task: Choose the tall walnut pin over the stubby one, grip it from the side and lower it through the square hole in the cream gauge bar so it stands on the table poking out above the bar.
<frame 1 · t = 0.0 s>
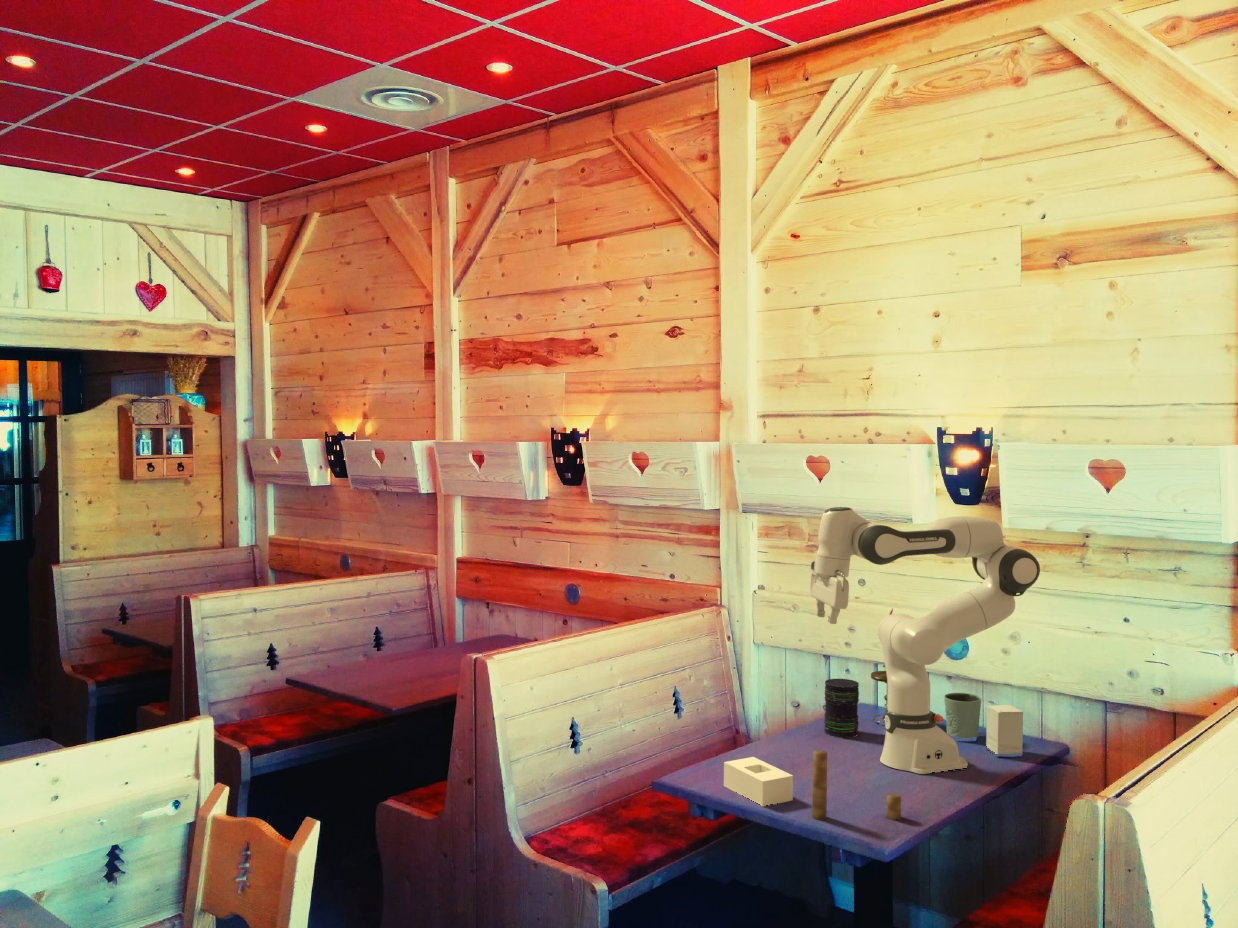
hand: (826, 620, 273), 39 cm above the table, tool pointing down, fingers open, 8 cm apart
gauge bar: (757, 792, 254), on the table
supplement box: (1004, 754, 286), on the table
long walnut pin: (819, 817, 238), on the table
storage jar: (841, 733, 304), on the table
short walnut pin: (893, 817, 238), on the table
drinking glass: (962, 738, 300), on the table
candlestick: (888, 722, 316), on the table
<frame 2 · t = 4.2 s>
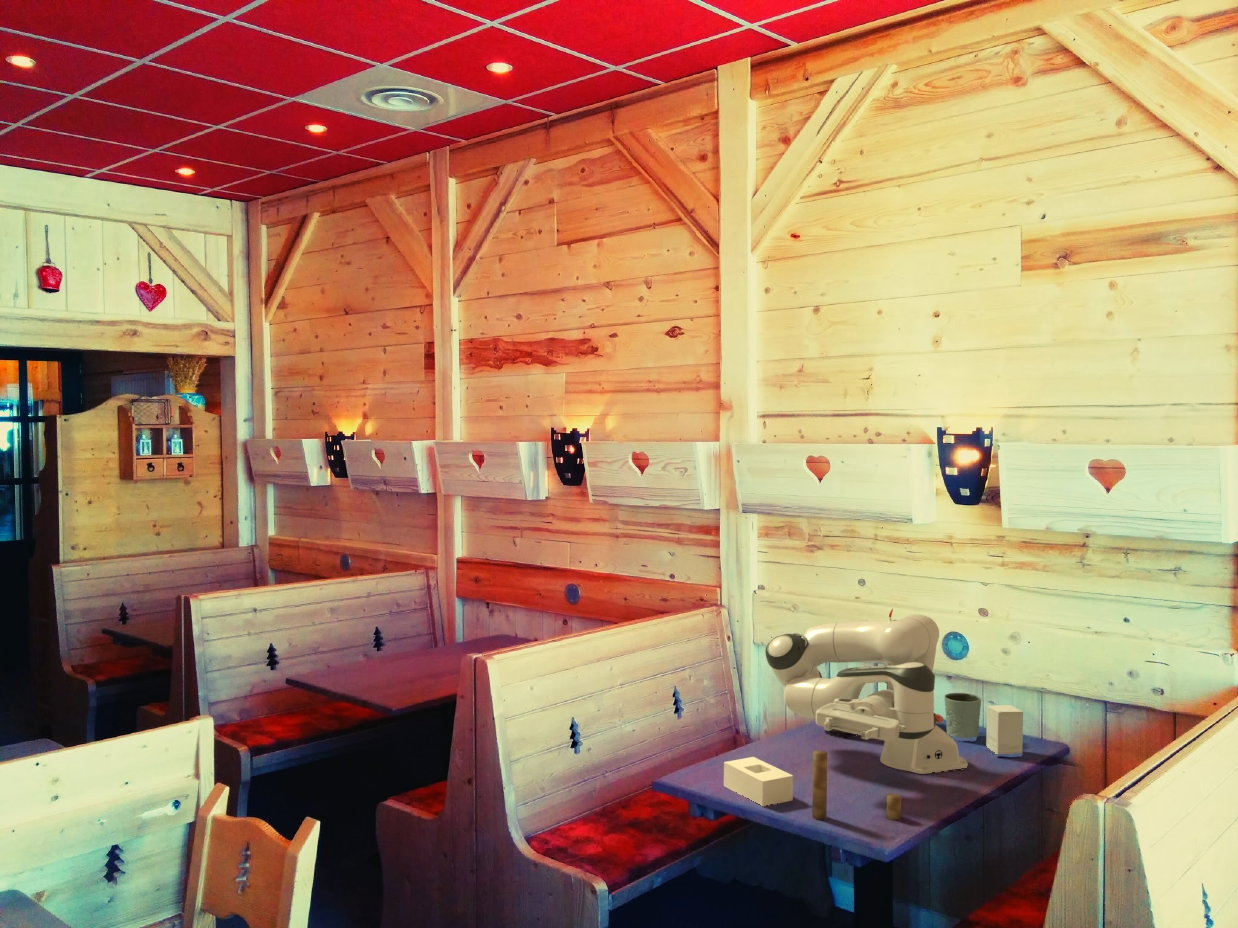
hand: (844, 731, 245), 18 cm above the table, tool horizontal, fingers open, 8 cm apart
nothing on the table moved.
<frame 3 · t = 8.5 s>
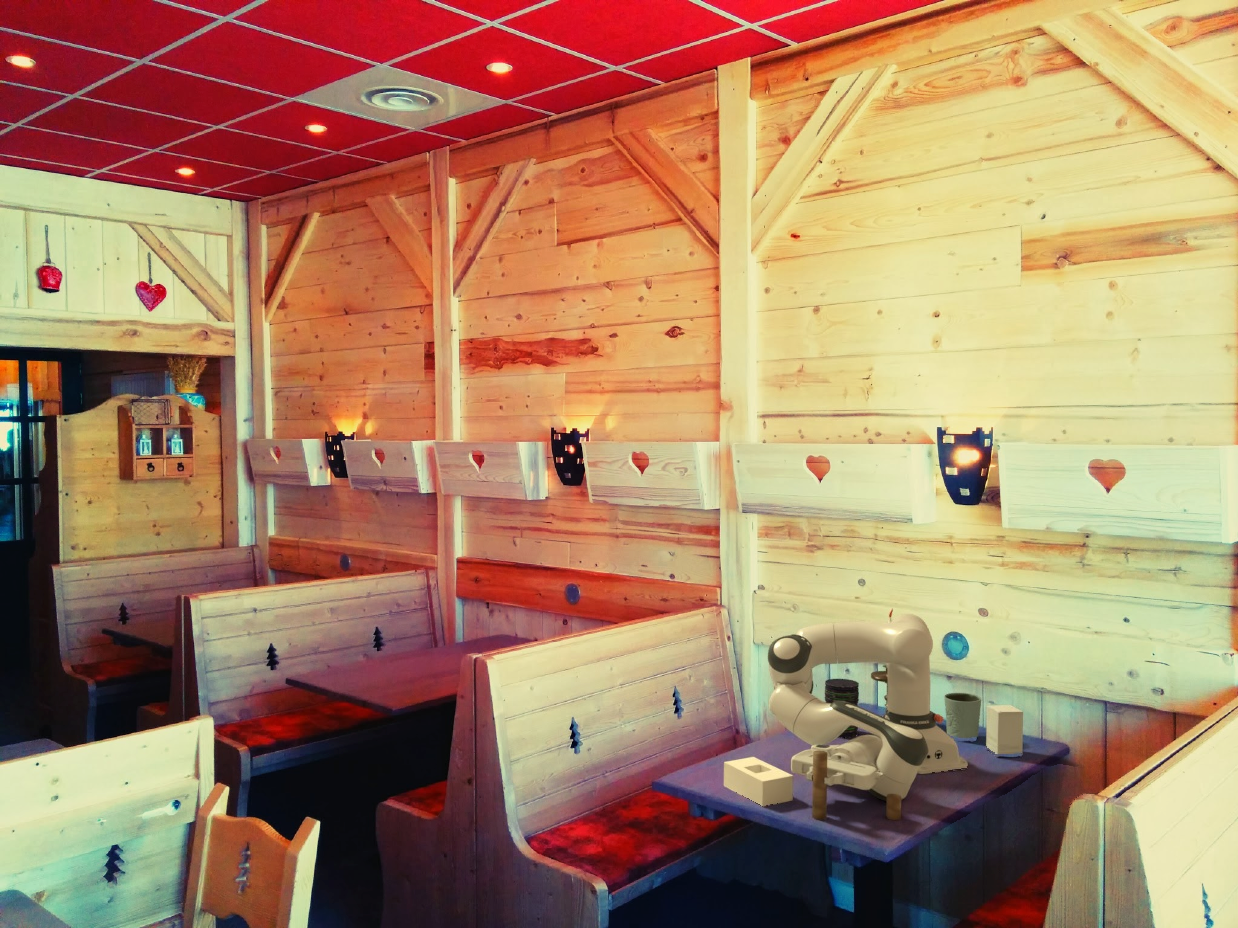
hand: (818, 779, 237), 9 cm above the table, tool horizontal, fingers closed on long walnut pin, 3 cm apart
long walnut pin: (819, 817, 238), on the table, touching gripper
everything else where it was.
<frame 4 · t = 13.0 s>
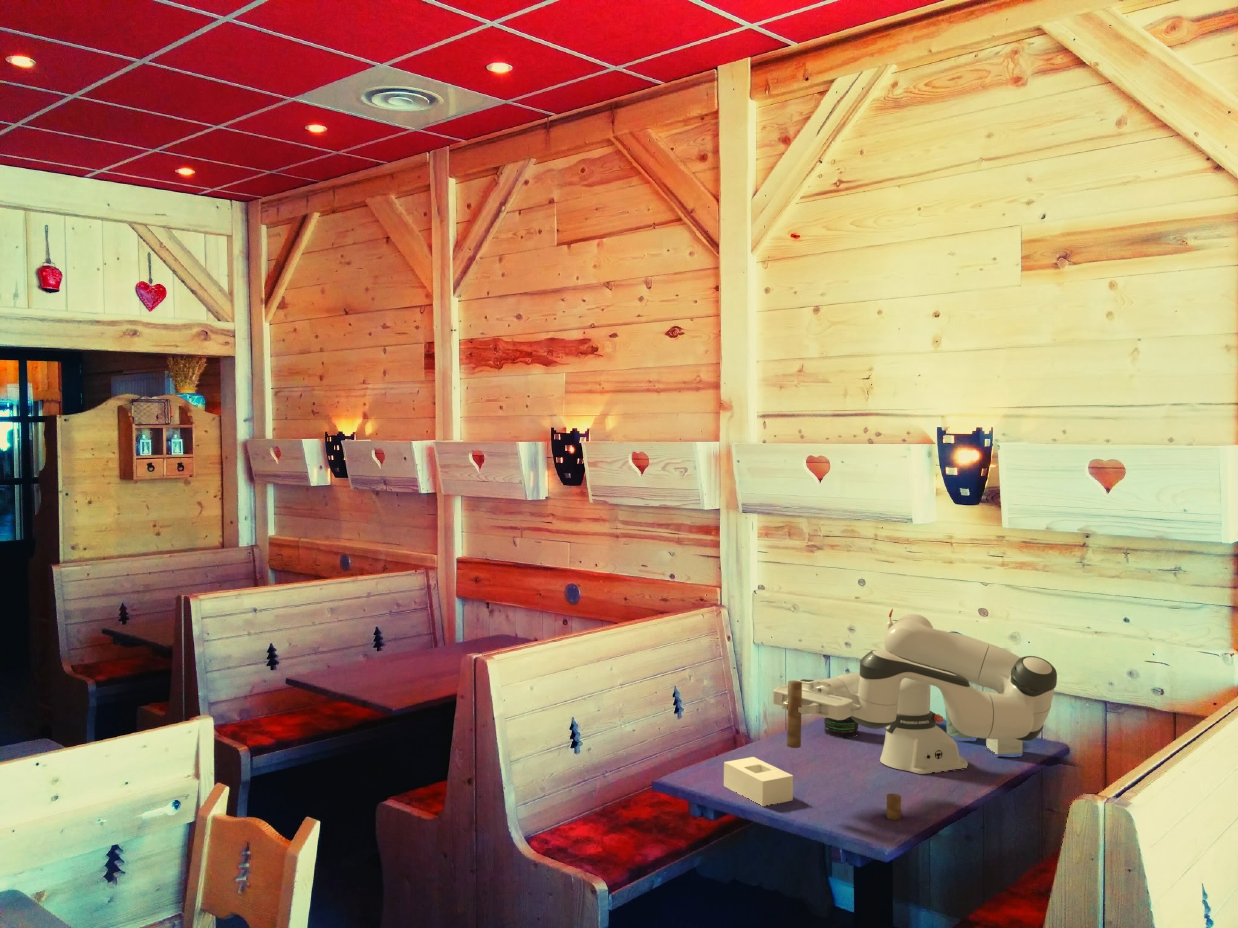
hand: (792, 708, 242), 24 cm above the table, tool horizontal, fingers closed on long walnut pin, 3 cm apart
long walnut pin: (793, 745, 242), point 15 cm above the table, touching gripper
everything else where it was.
when the fingers open (11 cm above the table, at t = 17.6 s): long walnut pin drops 3 cm, resting in gauge bar.
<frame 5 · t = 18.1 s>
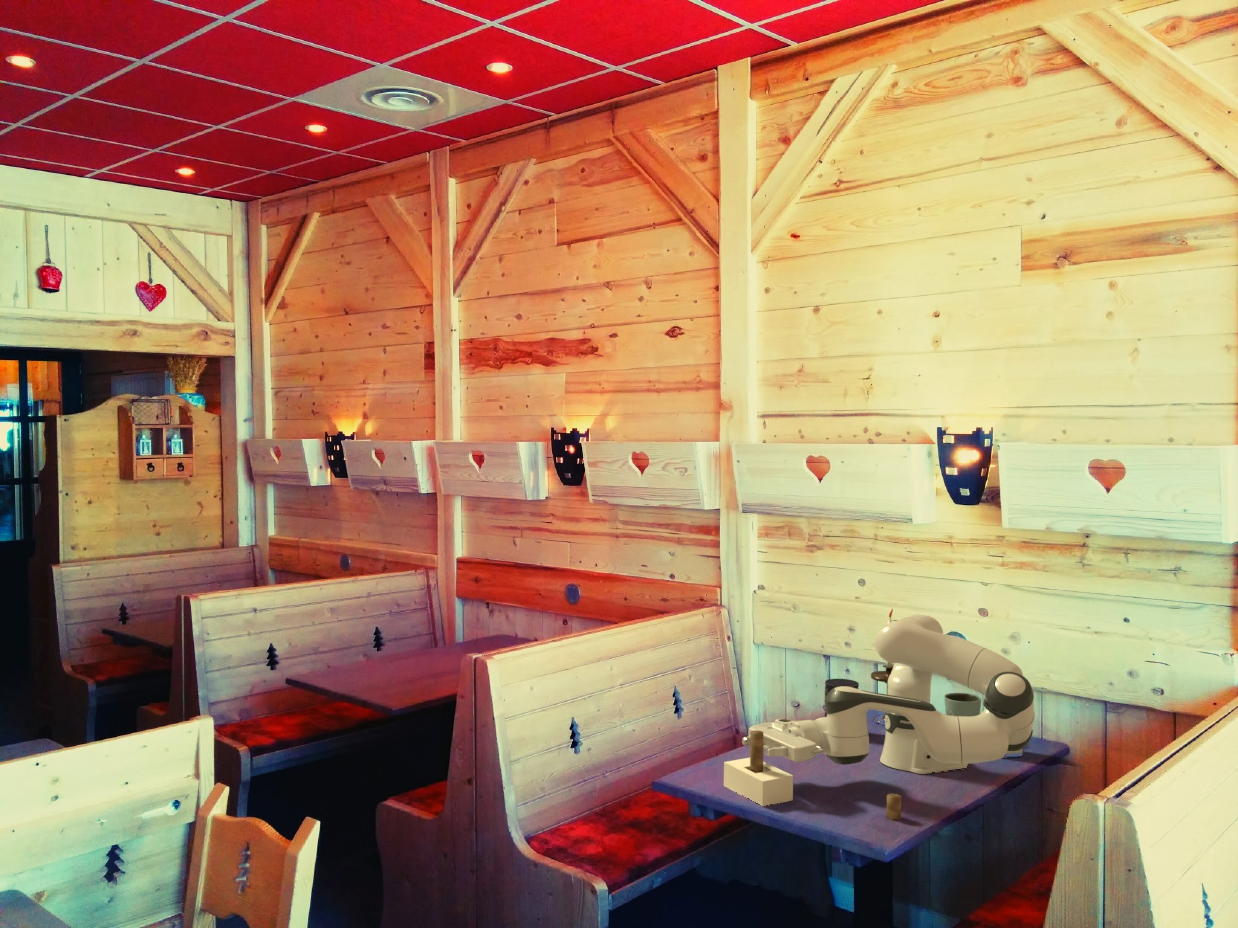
hand: (755, 746, 253), 11 cm above the table, tool horizontal, fingers open, 8 cm apart
long walnut pin: (756, 792, 253), resting in gauge bar
everything else where it was.
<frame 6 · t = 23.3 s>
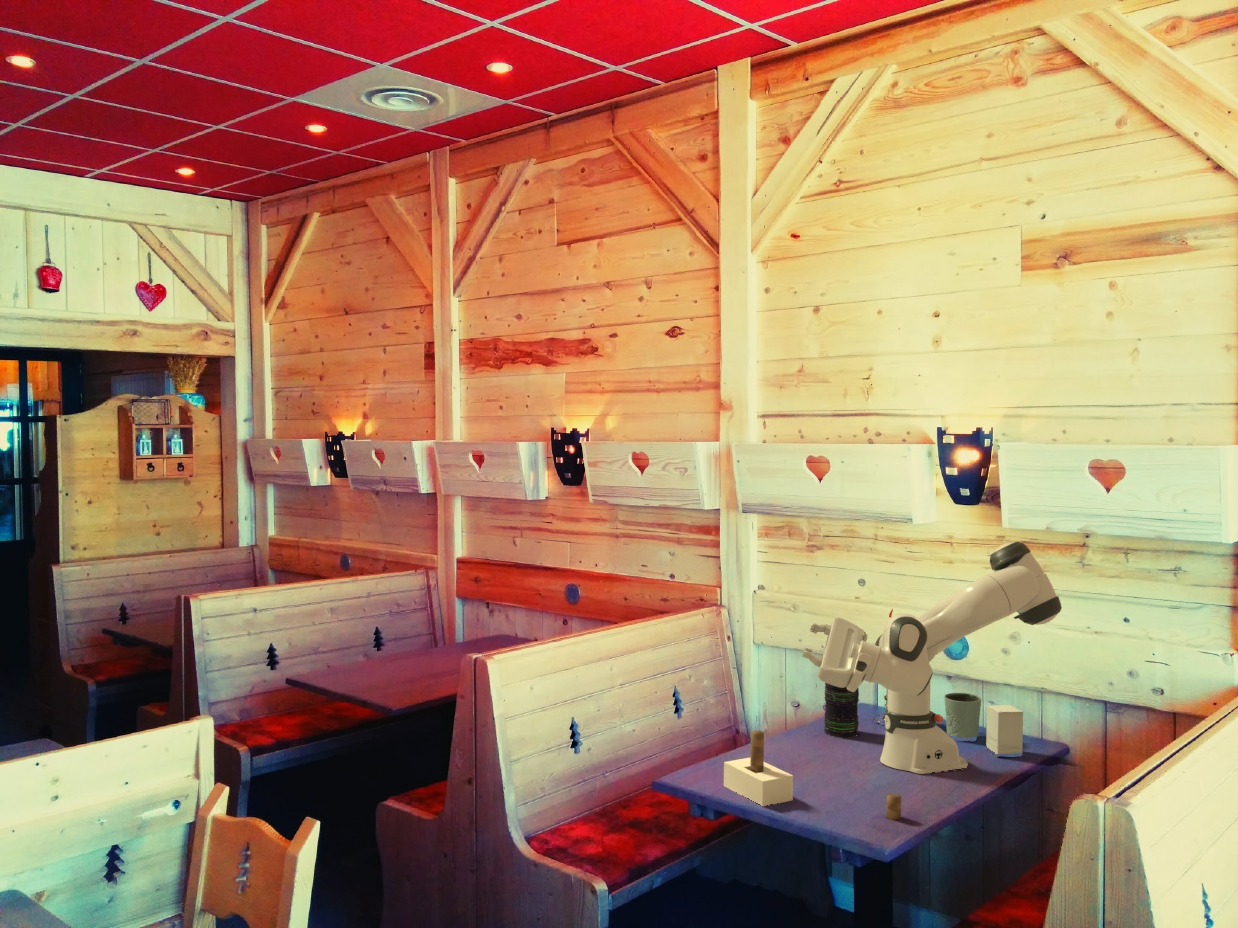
hand: (807, 639, 252), 38 cm above the table, tool pointing upward, fingers open, 8 cm apart
nothing on the table moved.
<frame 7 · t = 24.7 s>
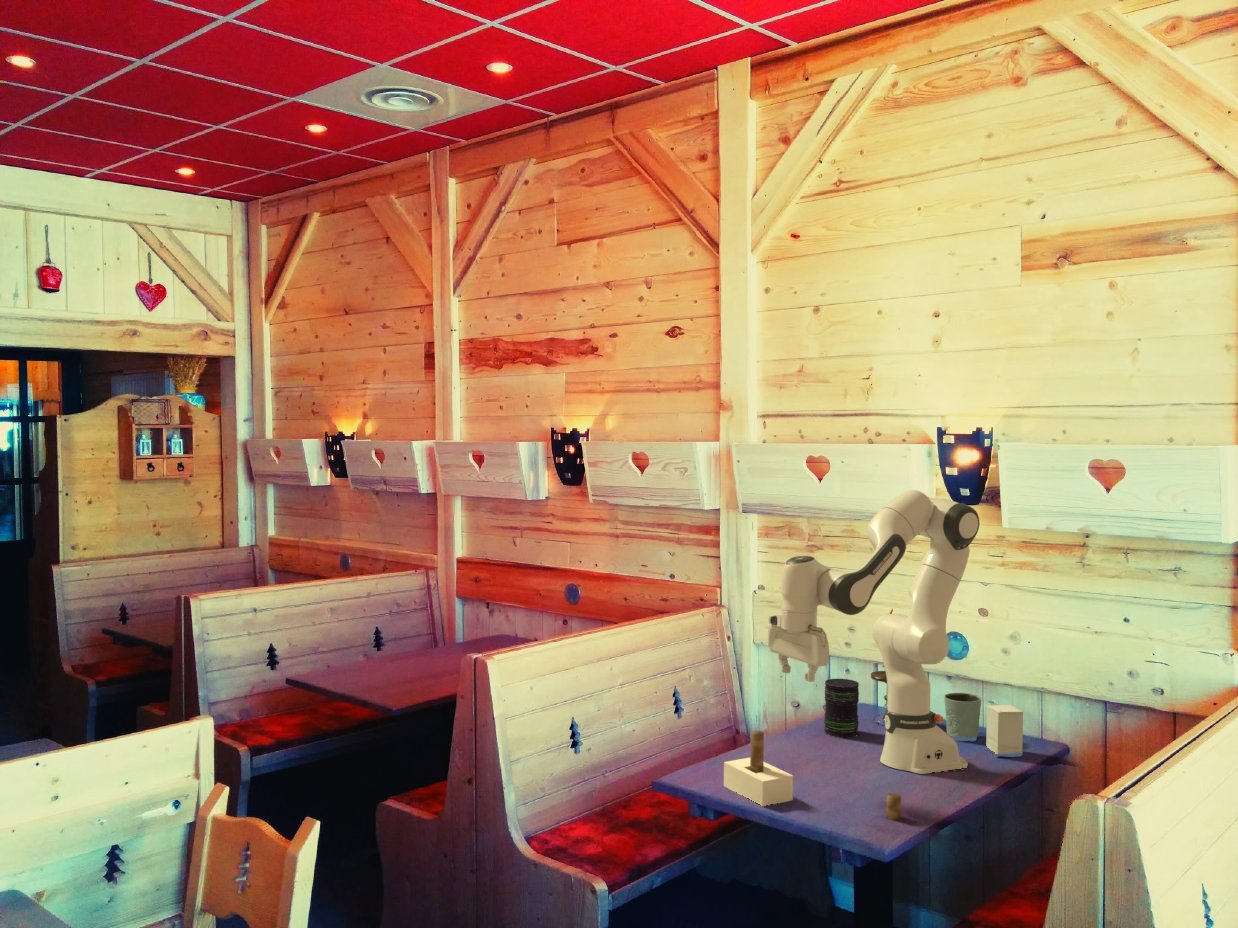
hand: (797, 676, 259), 27 cm above the table, tool pointing down, fingers open, 8 cm apart
nothing on the table moved.
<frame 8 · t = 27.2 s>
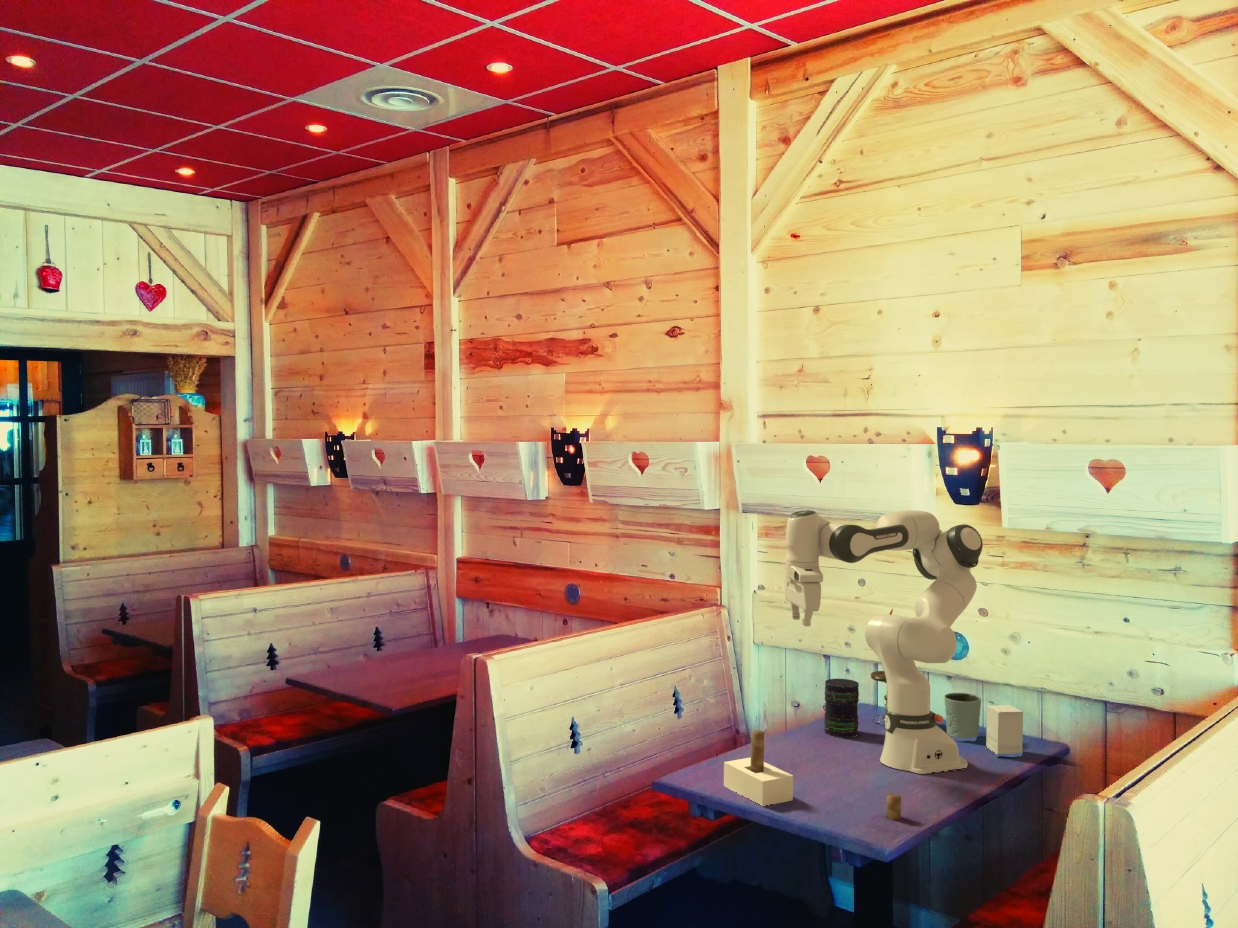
hand: (801, 622, 278), 37 cm above the table, tool pointing down, fingers open, 8 cm apart
nothing on the table moved.
at the end: long walnut pin 0.2 cm off-centre on the gauge bar, point 0.0 cm above the gauge bar's base; long walnut pin tilted 0°; short walnut pin moved 0.0 cm from its start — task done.
